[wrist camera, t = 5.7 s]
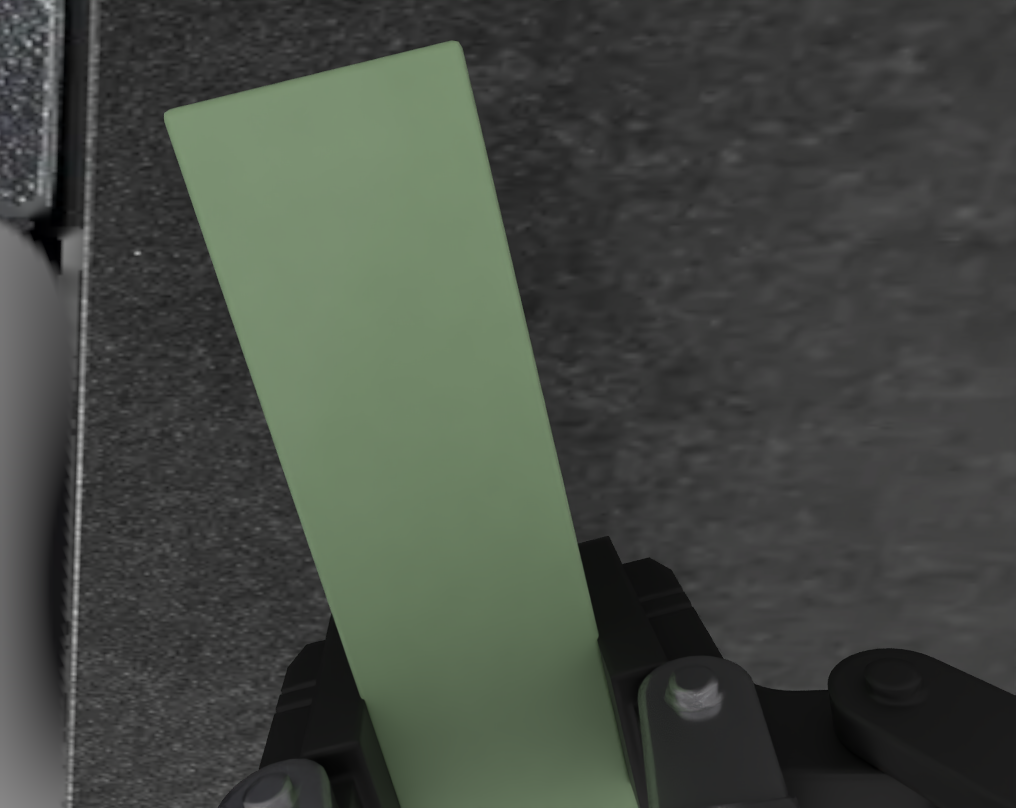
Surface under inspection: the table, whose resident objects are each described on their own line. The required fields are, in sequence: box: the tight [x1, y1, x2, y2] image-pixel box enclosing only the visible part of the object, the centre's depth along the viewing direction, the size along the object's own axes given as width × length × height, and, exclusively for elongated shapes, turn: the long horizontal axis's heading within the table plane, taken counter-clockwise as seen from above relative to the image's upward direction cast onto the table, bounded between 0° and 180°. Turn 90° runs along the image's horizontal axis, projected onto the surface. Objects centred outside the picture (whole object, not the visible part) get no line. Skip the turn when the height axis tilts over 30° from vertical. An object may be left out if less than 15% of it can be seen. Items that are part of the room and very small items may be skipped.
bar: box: [164, 41, 638, 808], centre depth 12 cm, size 16×3×3 cm, turn 13°
